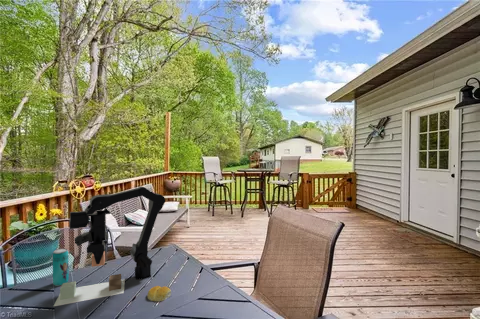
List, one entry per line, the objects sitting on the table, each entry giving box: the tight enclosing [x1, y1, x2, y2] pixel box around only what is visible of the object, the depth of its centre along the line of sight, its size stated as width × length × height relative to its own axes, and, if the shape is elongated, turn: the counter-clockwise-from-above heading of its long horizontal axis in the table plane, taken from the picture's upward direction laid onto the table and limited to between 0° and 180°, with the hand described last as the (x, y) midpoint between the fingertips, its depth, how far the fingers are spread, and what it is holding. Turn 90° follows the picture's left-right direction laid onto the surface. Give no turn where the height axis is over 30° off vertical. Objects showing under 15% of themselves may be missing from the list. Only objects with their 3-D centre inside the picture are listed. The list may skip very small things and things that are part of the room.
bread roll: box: [147, 285, 172, 302], centre depth 103 cm, size 8×9×4 cm
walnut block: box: [108, 273, 122, 291], centre depth 110 cm, size 4×4×4 cm
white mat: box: [52, 278, 126, 307], centre depth 106 cm, size 24×13×1 cm, turn 113°
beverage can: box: [52, 248, 70, 287], centre depth 114 cm, size 6×6×15 cm
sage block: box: [59, 281, 77, 300], centre depth 103 cm, size 4×4×4 cm
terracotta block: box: [91, 251, 106, 268], centre depth 110 cm, size 4×4×4 cm
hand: (98, 261), depth 110 cm, fingers closed on terracotta block, 4 cm apart
